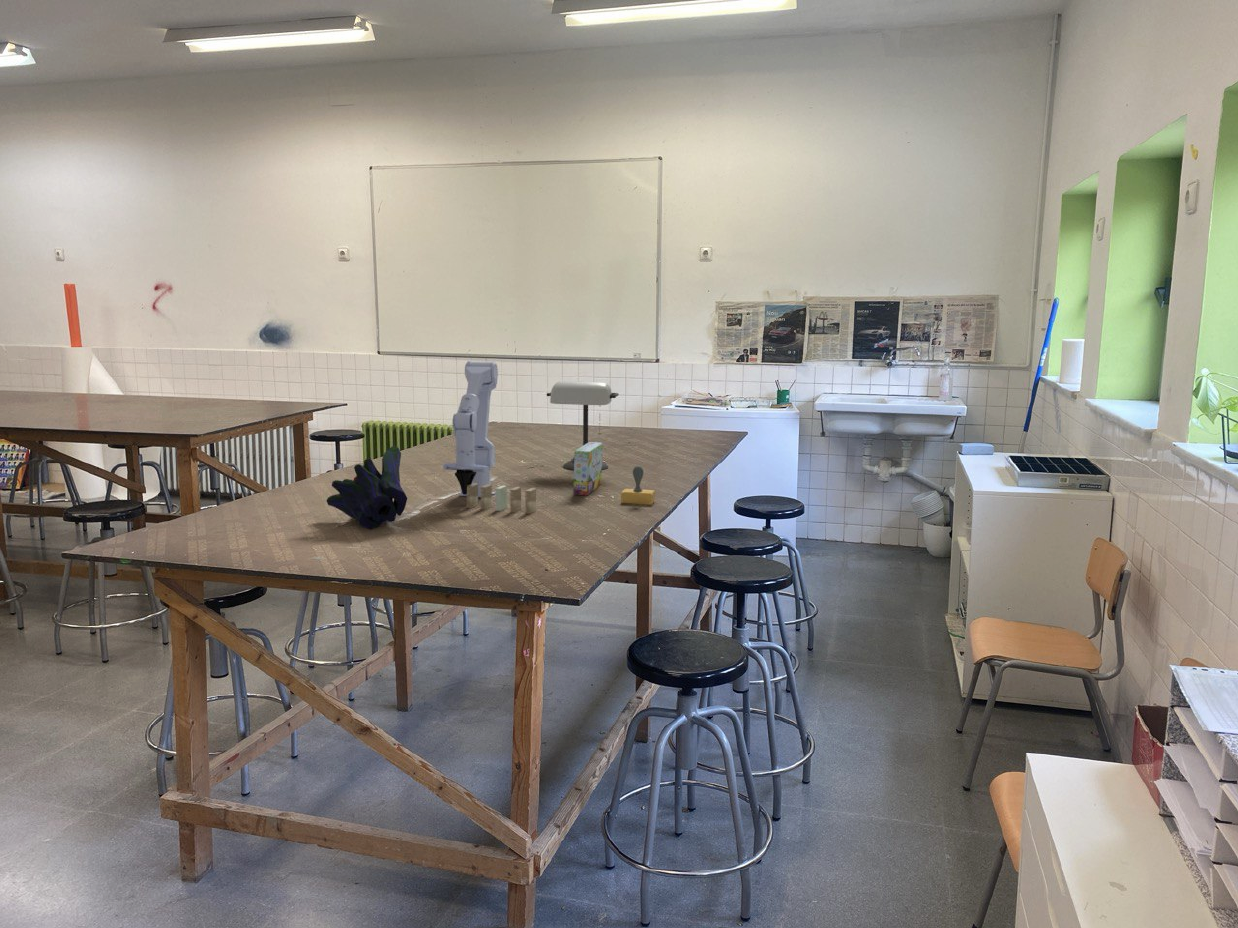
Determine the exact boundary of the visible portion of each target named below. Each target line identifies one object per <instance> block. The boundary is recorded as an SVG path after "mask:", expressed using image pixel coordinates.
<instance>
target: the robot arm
mask: <svg viewBox="0 0 1238 928" xmlns="http://www.w3.org/2000/svg"><path fill="white" fill-rule="evenodd" d="M498 373H499V371H498V365H497V362H496V361H470V360H468V361H467V362H466V363H465V365H464V376H465V378H466V382H467V389H466V393H465V394H464V395H462V396H461V399H460V403H459V406H458V409H457V412H456V413H454V414H453V415H452V429H453V436H454V437H455V462H445V463H444V462H443V465H442V466H443V468H442V469H443V470H444V471H448V470H449V471H456V472H455V473H454V477H456V479H457V481H458V484H459V486H460V494H459V496H461V497H467V486H468V485H470V484H473V483H477V484H478V498H481V487H482V486H484V485H487V484H488V485H492V483H491V481H492V480H491V479H492V478H491V469H492V468H494V467H495V465H496V464H495V463H496V447H495V445H494V443H493V442H491V441H490V440H489V439H488V434H489V432H488V431H489V422H490V421H489V420H490V405H491V395H492V391H493V390H495V389H497V384H498V375H499V374H498ZM493 495H496V491H492V496H493Z"/></svg>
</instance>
